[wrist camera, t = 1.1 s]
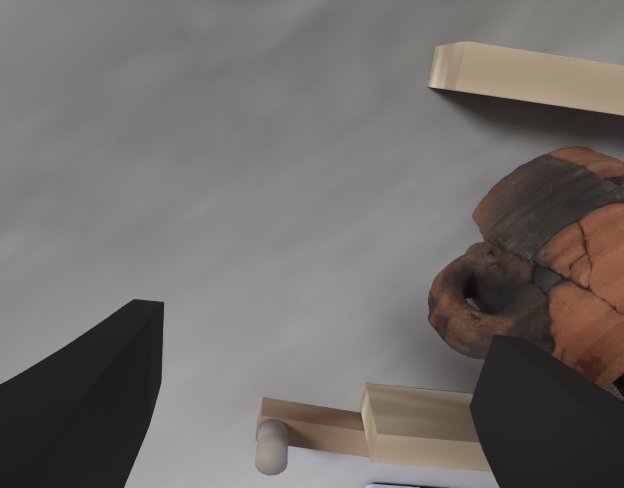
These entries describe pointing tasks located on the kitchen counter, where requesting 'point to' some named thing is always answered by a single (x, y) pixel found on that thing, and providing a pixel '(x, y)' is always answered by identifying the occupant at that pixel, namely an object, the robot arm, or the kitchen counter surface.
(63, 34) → the kitchen counter surface
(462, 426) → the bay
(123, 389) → the robot arm
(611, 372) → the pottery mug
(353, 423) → the crank handle
